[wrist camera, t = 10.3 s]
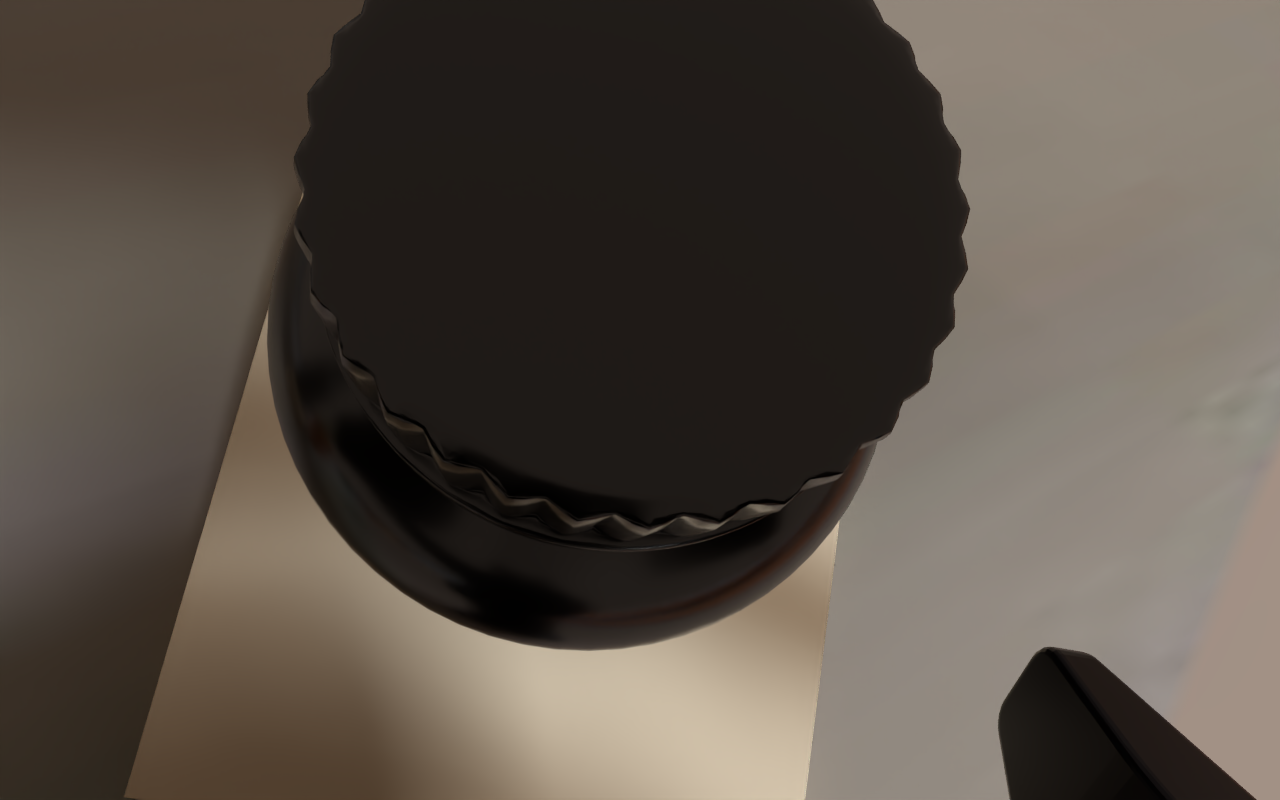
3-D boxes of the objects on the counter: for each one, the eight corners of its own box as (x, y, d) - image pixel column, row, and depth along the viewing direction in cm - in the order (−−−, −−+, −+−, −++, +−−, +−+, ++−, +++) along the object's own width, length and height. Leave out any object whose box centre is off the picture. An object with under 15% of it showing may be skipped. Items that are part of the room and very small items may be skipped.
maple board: (773, 877, 18) (792, 897, 17) (149, 783, 16) (124, 797, 15) (845, 316, 21) (866, 299, 19) (320, 194, 19) (309, 169, 18)
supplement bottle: (307, 378, 17) (-80, -73, 6) (611, 229, 19) (795, -355, 7) (479, 696, 16) (440, 933, 5) (779, 512, 18) (1284, 363, 7)
